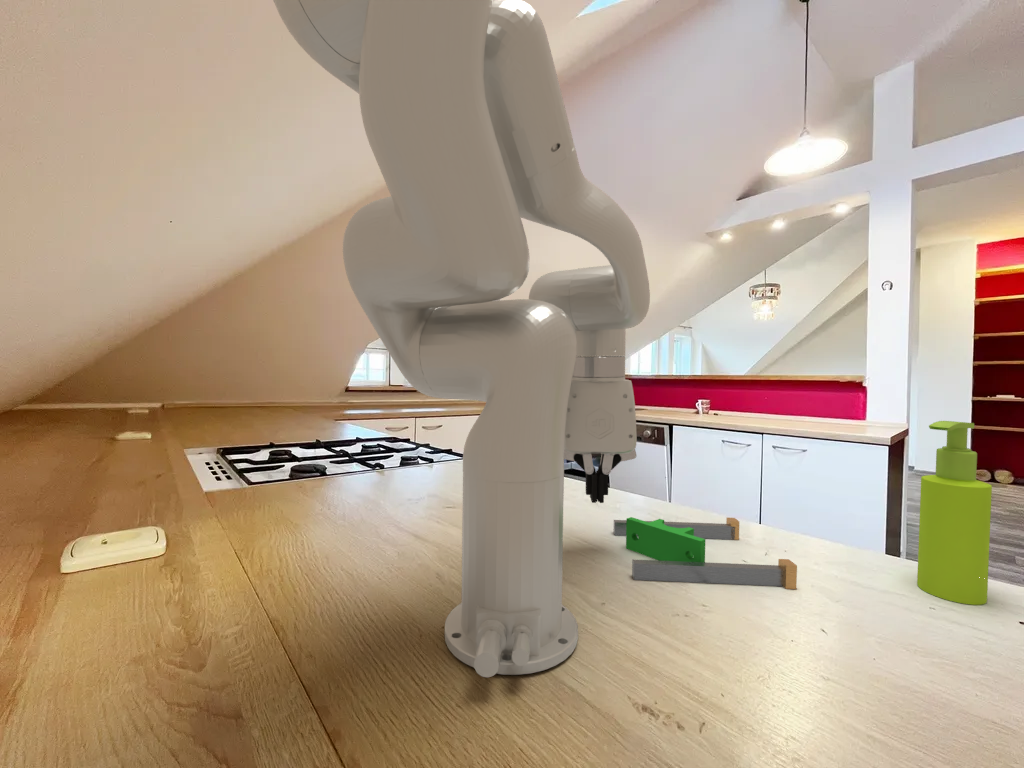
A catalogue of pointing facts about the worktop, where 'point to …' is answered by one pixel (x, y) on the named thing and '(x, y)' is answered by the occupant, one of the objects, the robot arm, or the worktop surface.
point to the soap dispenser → (954, 523)
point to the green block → (664, 541)
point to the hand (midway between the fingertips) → (596, 499)
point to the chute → (712, 572)
